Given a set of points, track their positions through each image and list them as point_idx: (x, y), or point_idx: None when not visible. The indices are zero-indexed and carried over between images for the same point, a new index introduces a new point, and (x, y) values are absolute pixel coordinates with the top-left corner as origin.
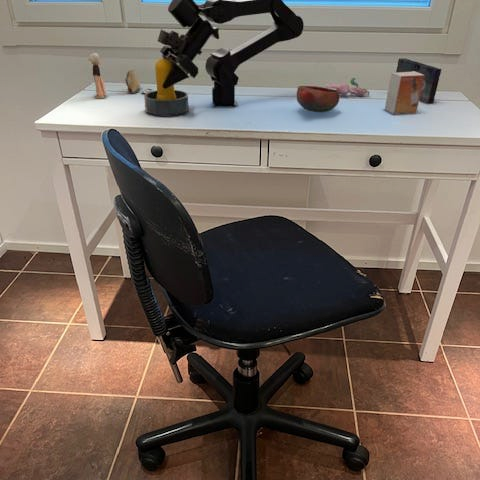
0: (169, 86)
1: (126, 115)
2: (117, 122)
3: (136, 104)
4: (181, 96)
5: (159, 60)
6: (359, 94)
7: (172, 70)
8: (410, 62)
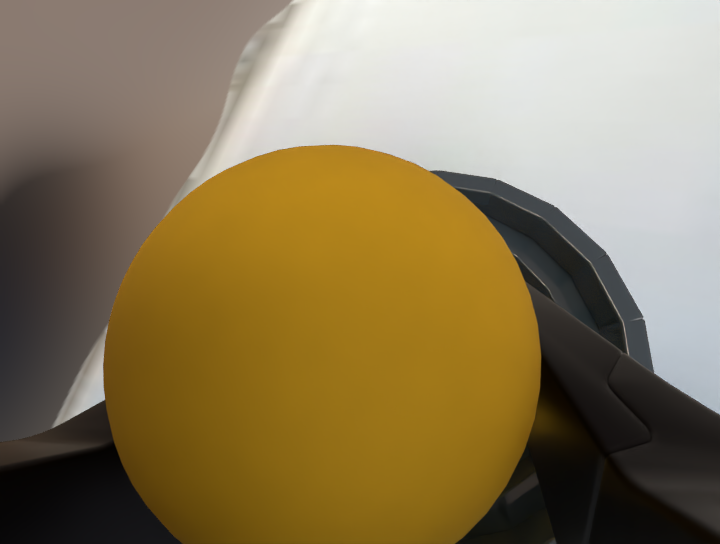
0: None
1: (419, 111)
2: (317, 73)
3: (695, 179)
4: (502, 538)
5: (210, 191)
6: None
7: (64, 424)
8: None
